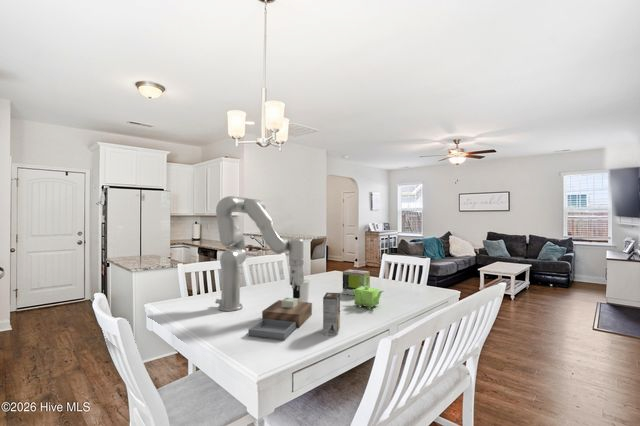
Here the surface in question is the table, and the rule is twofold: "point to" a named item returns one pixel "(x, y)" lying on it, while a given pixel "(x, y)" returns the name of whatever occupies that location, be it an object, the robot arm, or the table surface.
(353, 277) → the tea box
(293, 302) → the tile
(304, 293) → the candle holder
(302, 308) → the brown slab
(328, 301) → the coffee box
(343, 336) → the table surface
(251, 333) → the bin
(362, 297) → the kettle
